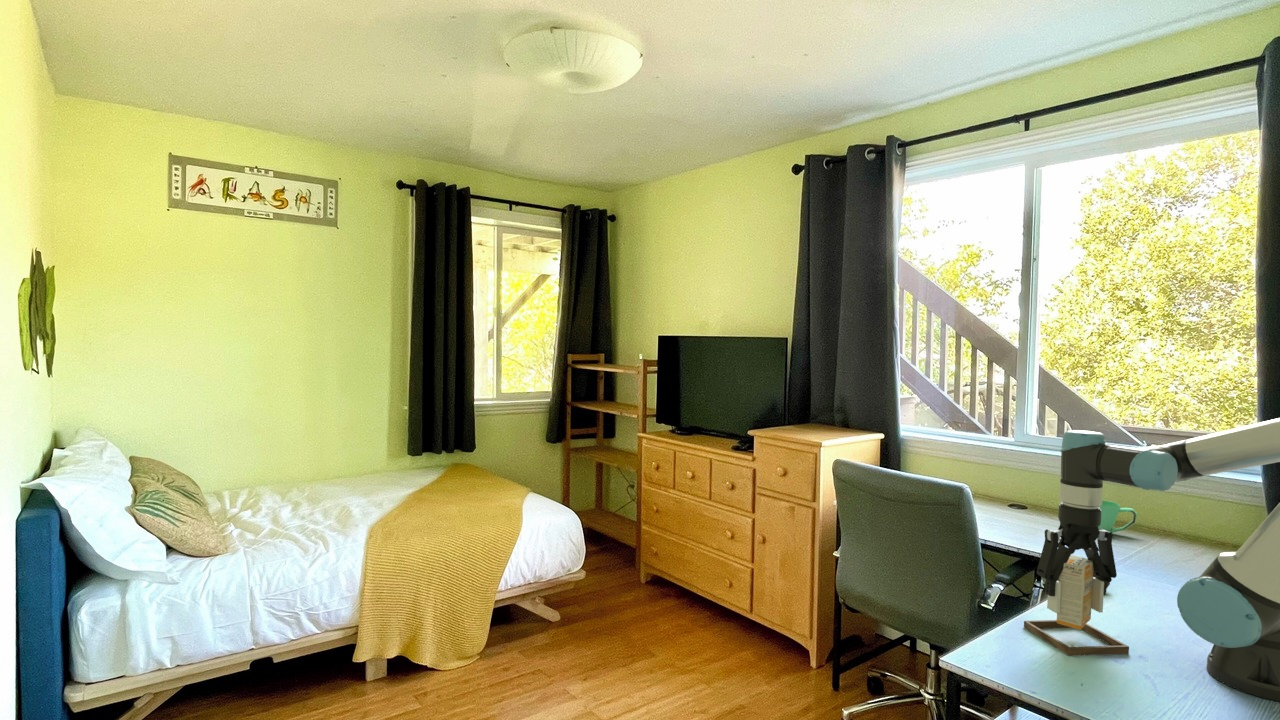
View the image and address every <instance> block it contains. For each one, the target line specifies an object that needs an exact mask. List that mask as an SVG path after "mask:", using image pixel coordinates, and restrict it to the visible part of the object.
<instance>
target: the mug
mask: <svg viewBox="0 0 1280 720" xmlns="http://www.w3.org/2000/svg"><path fill="white" fill-rule="evenodd" d="M1099 508H1100V509H1101V510H1102V512H1101V525H1100V526H1098V529H1099V530H1100V529H1103V530H1106V531H1109V532H1112V533H1116V532H1121V531H1125V530H1127V529H1128V528H1130V527H1132V526H1133V525H1135V524H1136V522H1137V518H1138V514H1139V513H1138V512H1137V511H1136V510H1135V509H1134V508H1131V507H1121V506H1120V503H1117V502H1114V501H1109V500H1103V499H1102V505H1101V506H1099ZM1125 512H1126V513H1132V520H1130V521H1129V522H1128V523H1126V524H1125V525H1124V526H1121V527H1120V526H1119V527H1115V528H1114V525H1115V524H1116V521H1117V519H1118V515H1119V514H1118V513H1125Z"/></svg>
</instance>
